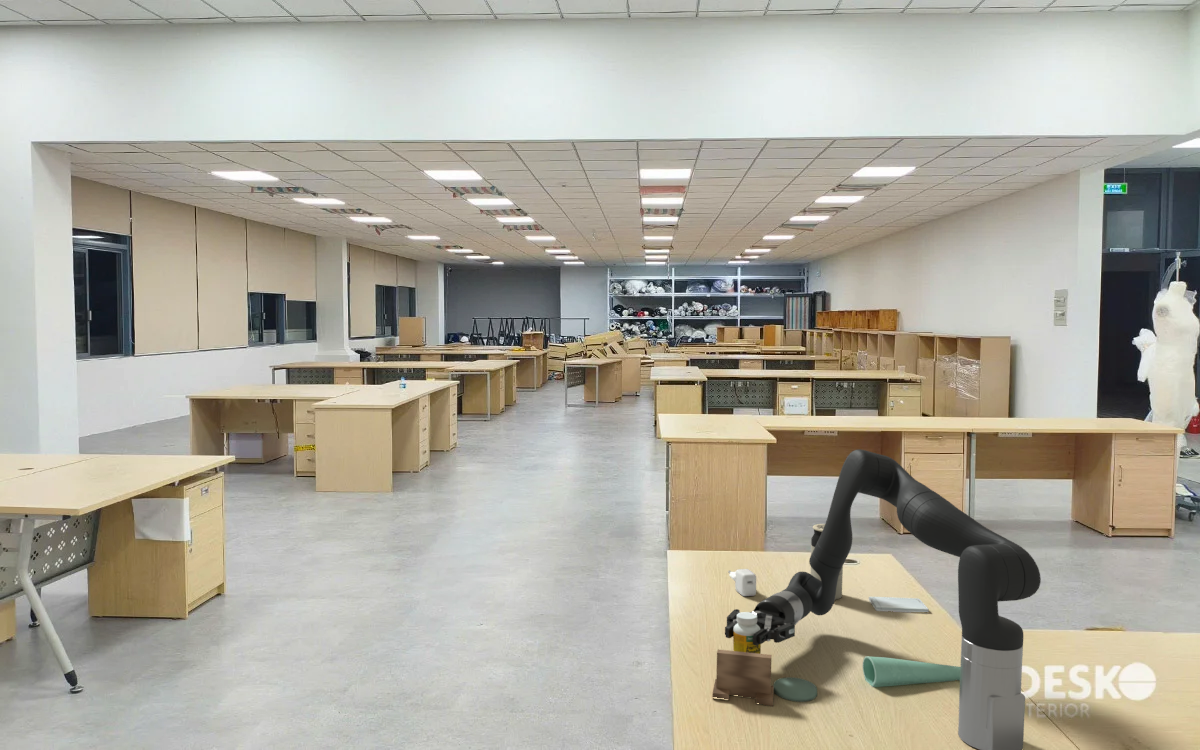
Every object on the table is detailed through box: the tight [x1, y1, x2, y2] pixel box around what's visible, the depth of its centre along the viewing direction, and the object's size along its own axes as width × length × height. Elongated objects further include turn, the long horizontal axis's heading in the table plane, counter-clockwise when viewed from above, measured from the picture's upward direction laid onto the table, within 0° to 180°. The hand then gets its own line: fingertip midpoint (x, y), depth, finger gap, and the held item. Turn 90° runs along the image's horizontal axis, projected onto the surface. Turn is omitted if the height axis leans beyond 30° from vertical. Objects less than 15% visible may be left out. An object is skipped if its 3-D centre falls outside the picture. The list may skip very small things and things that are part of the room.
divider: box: [711, 649, 775, 707], centre depth 149 cm, size 11×6×8 cm, turn 77°
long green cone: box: [862, 655, 960, 688], centre depth 157 cm, size 5×6×27 cm
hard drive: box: [868, 596, 930, 613], centre depth 198 cm, size 2×8×12 cm
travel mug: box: [810, 523, 844, 601], centre depth 205 cm, size 8×8×18 cm
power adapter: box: [727, 568, 757, 597], centre depth 209 cm, size 11×5×6 cm, turn 13°
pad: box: [773, 676, 818, 703], centre depth 151 cm, size 8×8×1 cm
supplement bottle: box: [732, 611, 762, 654], centre depth 157 cm, size 5×5×10 cm
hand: (741, 636), depth 155 cm, fingers closed on supplement bottle, 5 cm apart
